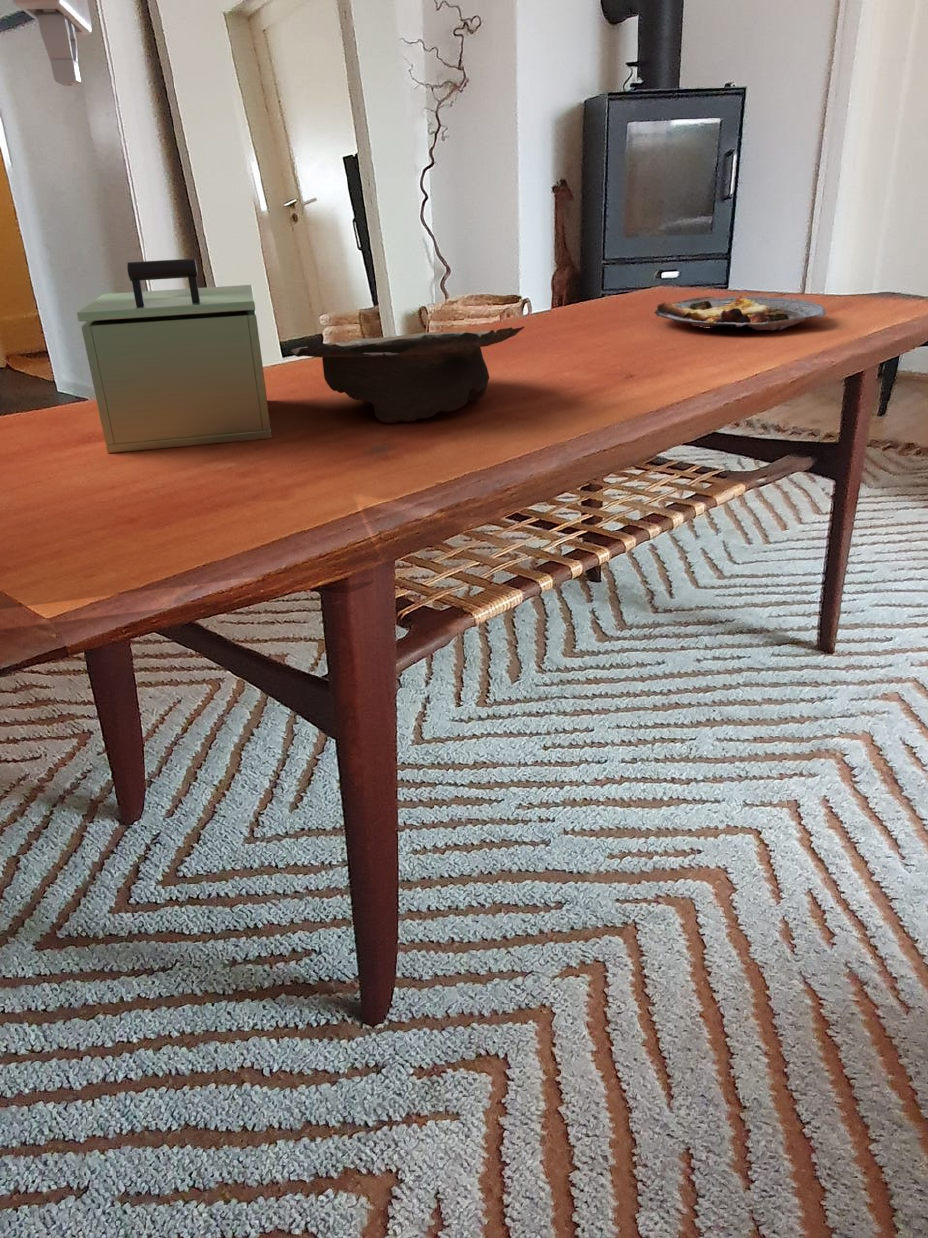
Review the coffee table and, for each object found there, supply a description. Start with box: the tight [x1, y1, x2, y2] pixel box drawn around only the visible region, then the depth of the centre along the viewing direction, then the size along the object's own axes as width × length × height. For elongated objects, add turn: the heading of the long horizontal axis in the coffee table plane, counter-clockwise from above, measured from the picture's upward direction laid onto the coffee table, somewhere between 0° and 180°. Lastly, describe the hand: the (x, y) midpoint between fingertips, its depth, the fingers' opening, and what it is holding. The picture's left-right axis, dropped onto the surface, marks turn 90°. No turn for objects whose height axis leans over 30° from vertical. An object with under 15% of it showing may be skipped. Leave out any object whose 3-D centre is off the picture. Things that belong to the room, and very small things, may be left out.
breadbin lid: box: [76, 258, 256, 323], centre depth 92 cm, size 18×16×5 cm
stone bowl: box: [290, 326, 526, 424], centre depth 102 cm, size 25×25×9 cm
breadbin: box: [80, 309, 273, 454], centre depth 96 cm, size 18×16×12 cm
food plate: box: [654, 295, 827, 331], centre depth 143 cm, size 25×23×4 cm
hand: (68, 84), depth 80 cm, fingers closed
